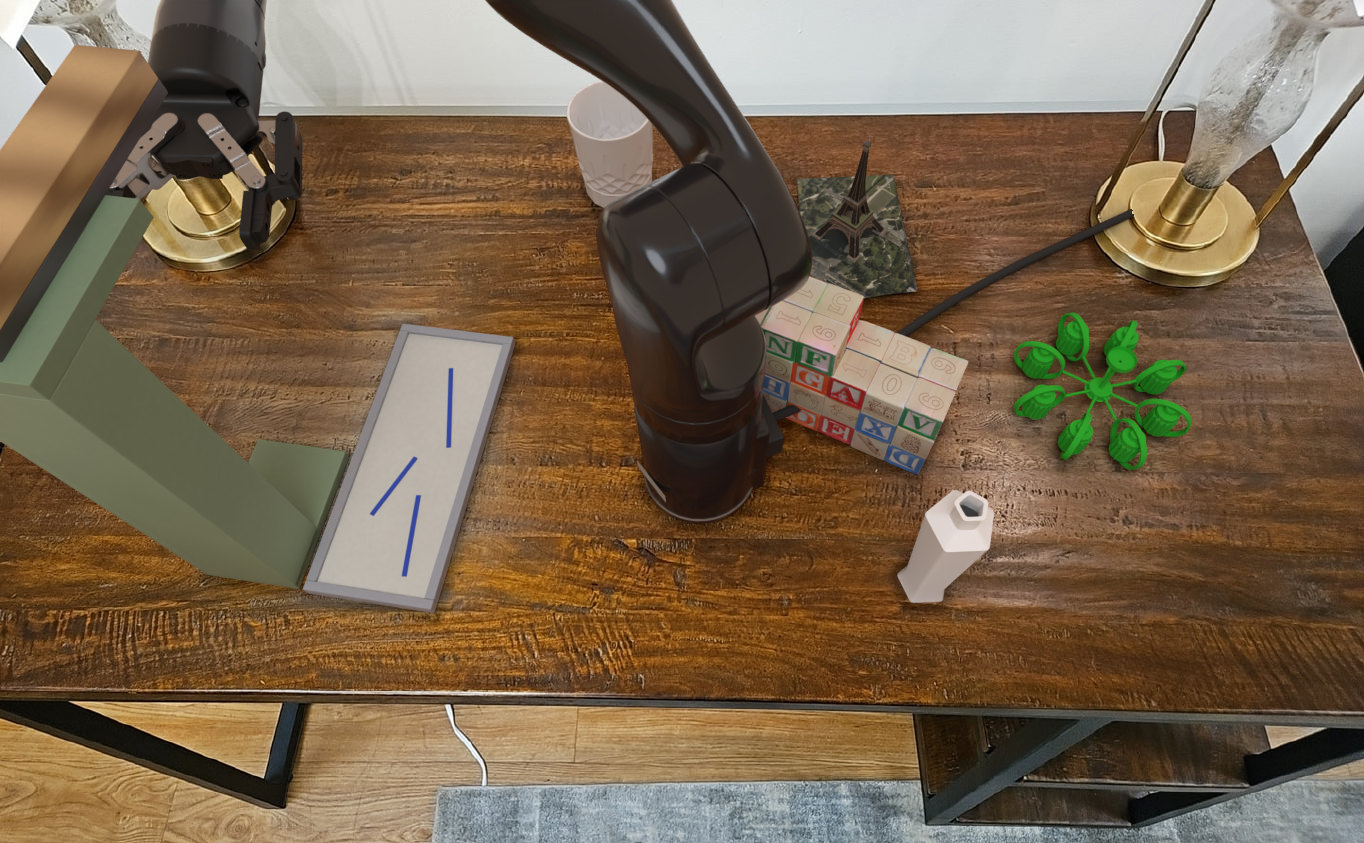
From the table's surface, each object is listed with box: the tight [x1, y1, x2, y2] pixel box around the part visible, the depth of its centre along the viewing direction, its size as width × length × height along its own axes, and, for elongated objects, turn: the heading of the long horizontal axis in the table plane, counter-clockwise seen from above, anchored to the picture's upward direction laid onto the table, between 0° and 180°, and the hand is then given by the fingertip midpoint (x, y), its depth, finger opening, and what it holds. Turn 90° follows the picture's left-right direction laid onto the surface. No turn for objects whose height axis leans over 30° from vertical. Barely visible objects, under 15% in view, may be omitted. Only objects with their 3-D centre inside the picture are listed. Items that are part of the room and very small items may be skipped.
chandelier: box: [1013, 312, 1193, 471], centre depth 74 cm, size 15×15×7 cm
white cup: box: [566, 80, 654, 209], centre depth 86 cm, size 8×8×10 cm
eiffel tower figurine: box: [796, 131, 919, 299], centre depth 80 cm, size 15×10×13 cm
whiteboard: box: [302, 323, 516, 614], centre depth 76 cm, size 26×11×1 cm, turn 171°
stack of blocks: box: [755, 277, 969, 476], centre depth 73 cm, size 21×6×12 cm, turn 62°
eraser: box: [0, 44, 168, 362], centre depth 47 cm, size 19×4×3 cm, turn 171°
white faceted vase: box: [897, 489, 995, 604], centre depth 63 cm, size 5×4×15 cm
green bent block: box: [0, 195, 351, 590], centre depth 60 cm, size 12×8×32 cm, turn 171°
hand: (185, 245), depth 62 cm, fingers open, 8 cm apart
